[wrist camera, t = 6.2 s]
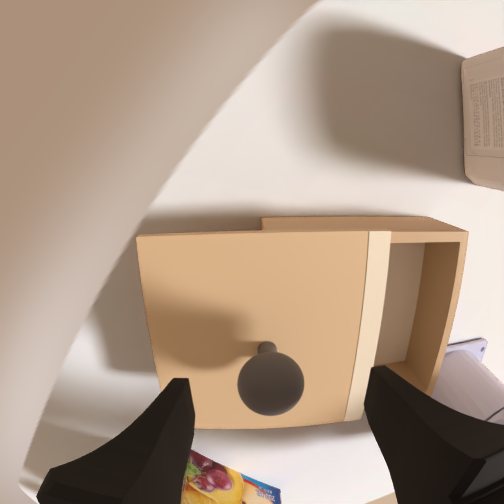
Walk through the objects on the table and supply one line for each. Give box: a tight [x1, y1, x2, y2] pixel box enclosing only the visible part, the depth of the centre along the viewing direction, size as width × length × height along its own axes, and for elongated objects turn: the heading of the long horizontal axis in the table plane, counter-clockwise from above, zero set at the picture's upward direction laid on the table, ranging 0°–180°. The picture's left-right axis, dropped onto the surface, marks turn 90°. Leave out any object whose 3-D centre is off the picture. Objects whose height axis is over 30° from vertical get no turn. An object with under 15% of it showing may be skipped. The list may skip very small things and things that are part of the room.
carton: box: [261, 216, 469, 409], centre depth 20 cm, size 12×12×5 cm
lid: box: [136, 228, 391, 429], centre depth 15 cm, size 12×12×5 cm
